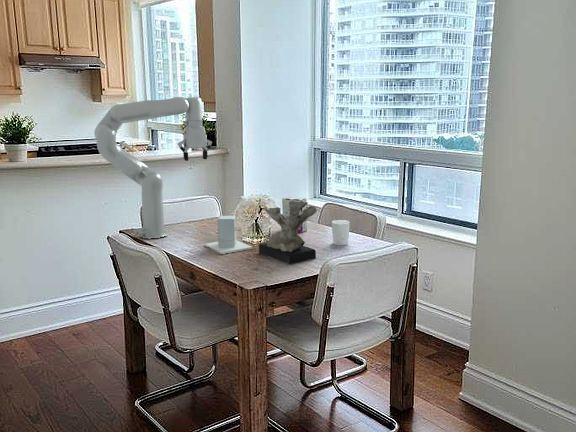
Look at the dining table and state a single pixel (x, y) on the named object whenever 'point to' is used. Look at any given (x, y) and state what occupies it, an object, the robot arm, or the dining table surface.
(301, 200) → the candy bar box
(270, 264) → the dining table surface
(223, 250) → the tile
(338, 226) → the white cup
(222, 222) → the supplement box
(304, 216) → the coral
